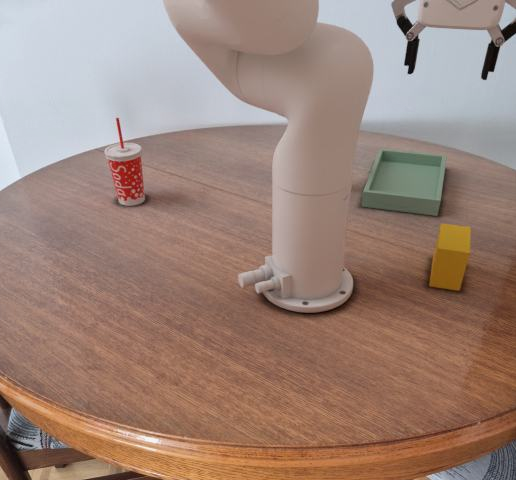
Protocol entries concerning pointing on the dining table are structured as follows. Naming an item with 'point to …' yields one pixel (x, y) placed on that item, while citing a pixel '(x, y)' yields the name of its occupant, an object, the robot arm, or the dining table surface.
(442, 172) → the pan
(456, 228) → the yellow rectangular block
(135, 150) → the beverage cup
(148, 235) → the dining table surface
